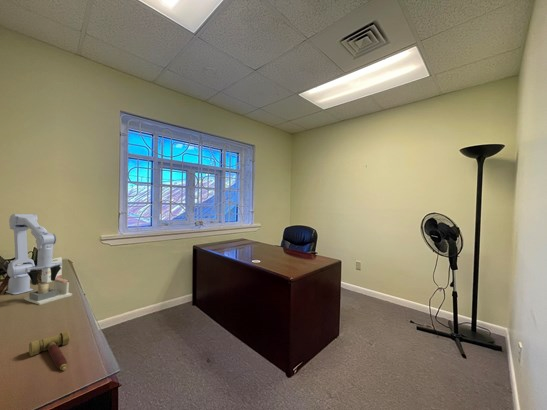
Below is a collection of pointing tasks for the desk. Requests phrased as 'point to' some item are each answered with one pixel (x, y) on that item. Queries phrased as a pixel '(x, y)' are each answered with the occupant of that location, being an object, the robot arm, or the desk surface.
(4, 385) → the desk surface
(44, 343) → the gavel
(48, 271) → the ink cartridge box
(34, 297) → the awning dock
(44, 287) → the maple peg
